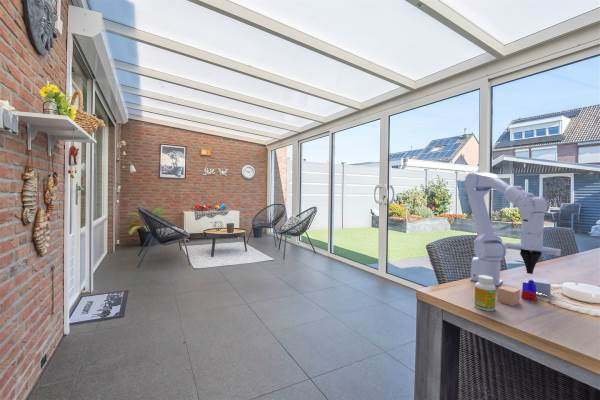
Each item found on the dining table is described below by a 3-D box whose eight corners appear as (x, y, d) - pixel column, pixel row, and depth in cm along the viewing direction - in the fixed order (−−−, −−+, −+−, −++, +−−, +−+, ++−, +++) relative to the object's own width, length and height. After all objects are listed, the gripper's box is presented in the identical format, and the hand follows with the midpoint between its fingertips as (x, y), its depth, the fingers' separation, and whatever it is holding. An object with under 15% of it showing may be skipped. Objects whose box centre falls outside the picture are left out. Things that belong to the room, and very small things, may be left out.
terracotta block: (497, 301, 94) (497, 287, 94) (503, 298, 96) (503, 285, 96) (513, 306, 90) (513, 292, 90) (519, 303, 93) (519, 289, 92)
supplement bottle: (488, 312, 85) (489, 280, 85) (470, 306, 90) (471, 275, 89) (498, 309, 87) (500, 278, 87) (480, 302, 92) (481, 273, 92)
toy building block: (521, 302, 97) (522, 284, 94) (522, 293, 100) (523, 275, 97) (535, 304, 95) (536, 286, 92) (535, 295, 98) (536, 278, 95)
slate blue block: (533, 294, 101) (533, 281, 100) (531, 290, 104) (531, 278, 104) (549, 297, 98) (550, 284, 98) (547, 292, 102) (547, 280, 102)
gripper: (502, 231, 98) (501, 270, 99) (559, 237, 87) (557, 281, 88) (507, 229, 103) (505, 266, 103) (562, 234, 92) (559, 276, 93)
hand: (529, 273), depth 96 cm, fingers closed
